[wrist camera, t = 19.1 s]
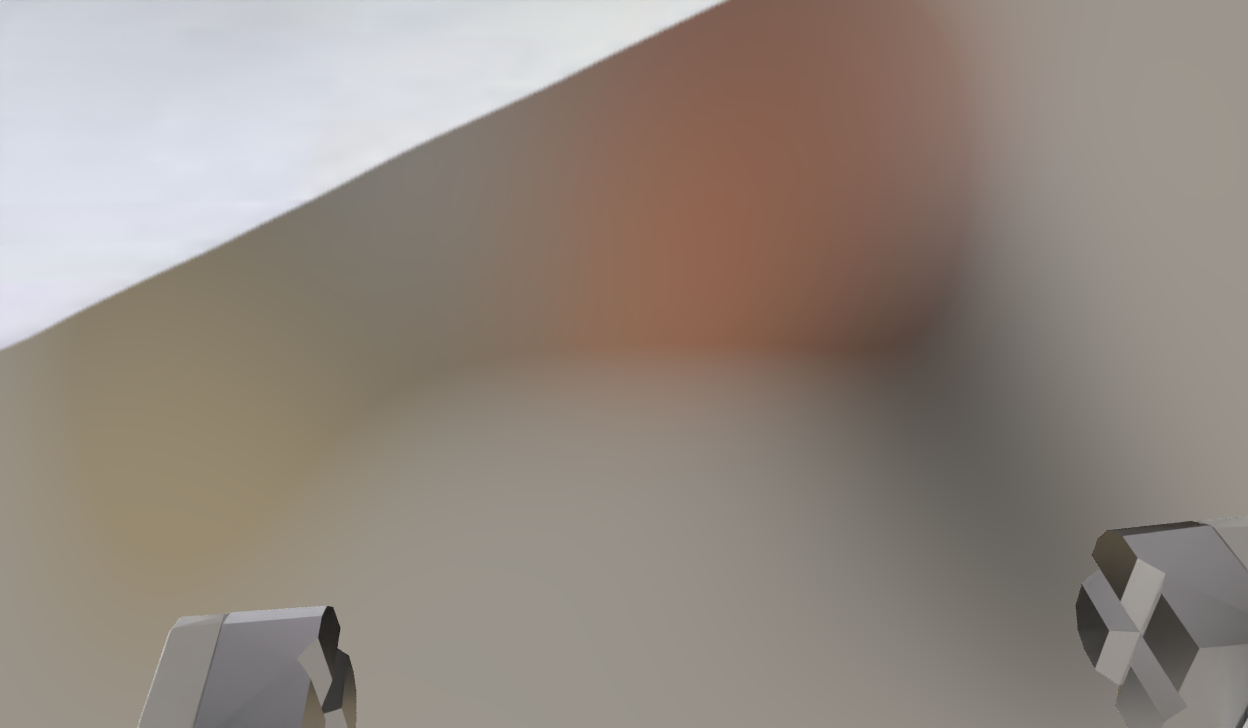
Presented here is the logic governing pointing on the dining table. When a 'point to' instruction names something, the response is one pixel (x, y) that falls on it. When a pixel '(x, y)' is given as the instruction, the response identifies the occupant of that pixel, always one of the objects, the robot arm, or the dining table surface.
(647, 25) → the dining table surface
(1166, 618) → the robot arm
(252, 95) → the dining table surface
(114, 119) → the dining table surface
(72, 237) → the dining table surface
